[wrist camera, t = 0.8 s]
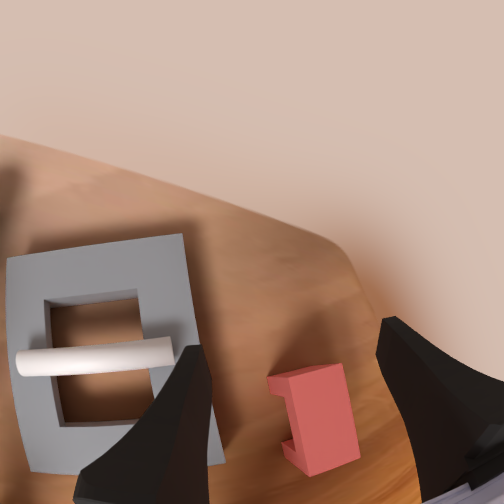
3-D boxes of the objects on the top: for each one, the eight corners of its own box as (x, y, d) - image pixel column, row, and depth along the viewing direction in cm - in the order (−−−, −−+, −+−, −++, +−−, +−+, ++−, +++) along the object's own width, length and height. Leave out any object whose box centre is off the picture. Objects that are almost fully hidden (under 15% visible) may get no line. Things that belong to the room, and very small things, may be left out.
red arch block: (327, 443, 23) (360, 457, 18) (284, 457, 22) (309, 476, 17) (310, 365, 26) (341, 362, 20) (266, 376, 25) (288, 377, 19)
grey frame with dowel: (221, 453, 22) (229, 470, 17) (45, 463, 18) (20, 477, 13) (182, 247, 28) (181, 221, 23) (21, 268, 24) (-4, 249, 19)
